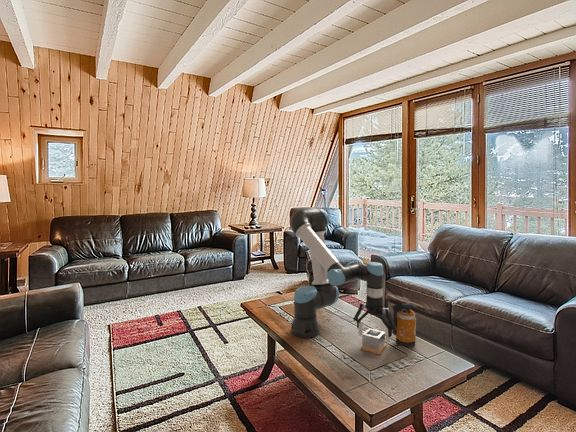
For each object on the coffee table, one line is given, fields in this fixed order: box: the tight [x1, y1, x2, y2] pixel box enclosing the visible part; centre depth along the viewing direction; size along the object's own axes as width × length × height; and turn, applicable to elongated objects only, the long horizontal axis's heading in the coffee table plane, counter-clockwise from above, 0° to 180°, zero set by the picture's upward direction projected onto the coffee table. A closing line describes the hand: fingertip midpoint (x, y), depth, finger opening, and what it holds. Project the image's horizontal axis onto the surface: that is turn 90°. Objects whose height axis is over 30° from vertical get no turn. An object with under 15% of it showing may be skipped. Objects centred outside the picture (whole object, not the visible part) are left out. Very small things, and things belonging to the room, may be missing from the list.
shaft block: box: [360, 331, 387, 355], centre depth 163 cm, size 9×9×8 cm
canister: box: [392, 301, 417, 347], centre depth 167 cm, size 9×11×20 cm
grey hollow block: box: [361, 327, 386, 351], centre depth 163 cm, size 8×8×6 cm
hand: (373, 339), depth 163 cm, fingers open, 13 cm apart
